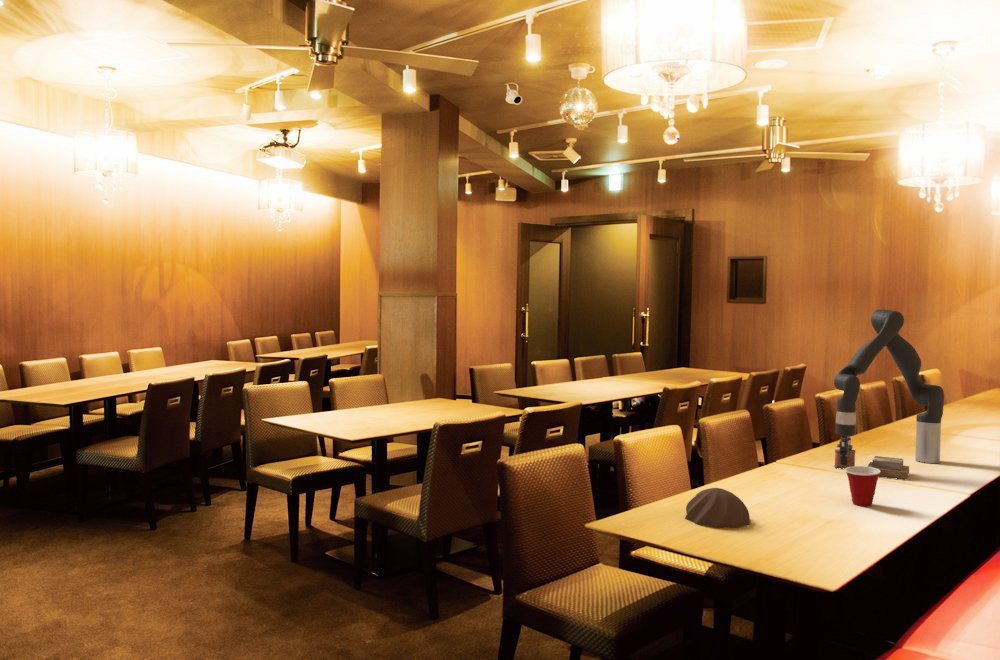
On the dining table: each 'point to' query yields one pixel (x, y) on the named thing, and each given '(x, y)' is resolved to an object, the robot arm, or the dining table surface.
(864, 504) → the plastic cup
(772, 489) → the dining table surface
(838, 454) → the lighter
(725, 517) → the decorative dome
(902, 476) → the plinth
